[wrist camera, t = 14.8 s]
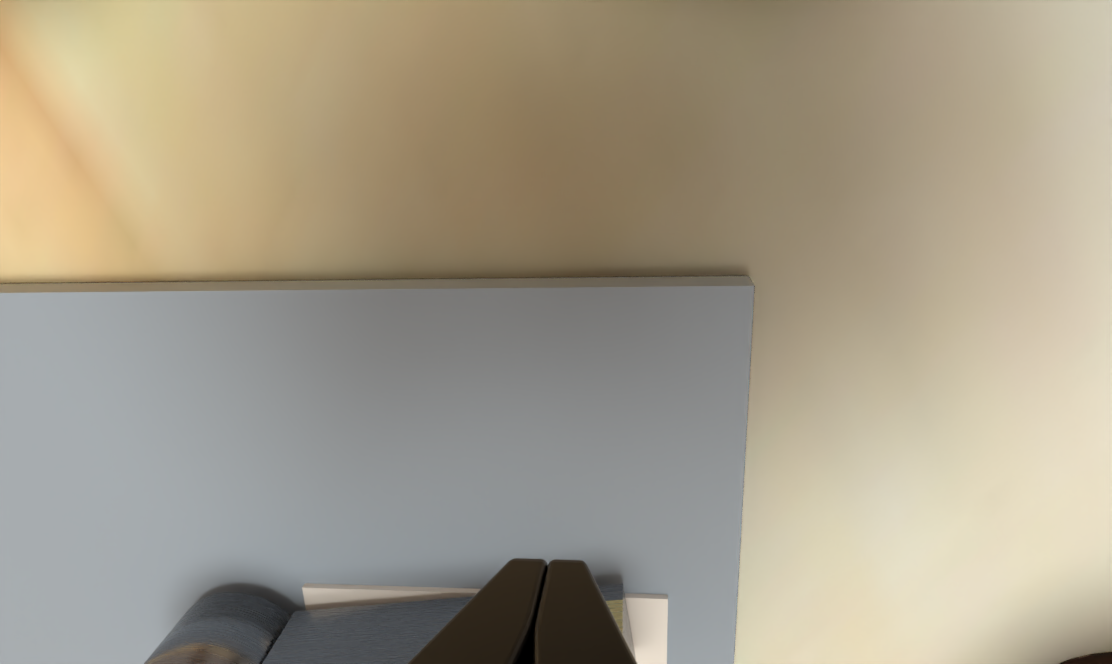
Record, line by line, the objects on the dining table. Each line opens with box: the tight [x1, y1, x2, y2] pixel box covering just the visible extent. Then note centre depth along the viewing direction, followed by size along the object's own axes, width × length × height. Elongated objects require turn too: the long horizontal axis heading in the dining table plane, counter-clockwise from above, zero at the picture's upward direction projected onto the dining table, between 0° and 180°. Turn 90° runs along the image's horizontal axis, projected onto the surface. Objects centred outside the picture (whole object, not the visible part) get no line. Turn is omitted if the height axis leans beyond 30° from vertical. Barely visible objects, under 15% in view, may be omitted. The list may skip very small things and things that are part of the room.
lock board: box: [0, 276, 755, 664], centre depth 23 cm, size 20×30×1 cm, turn 92°
